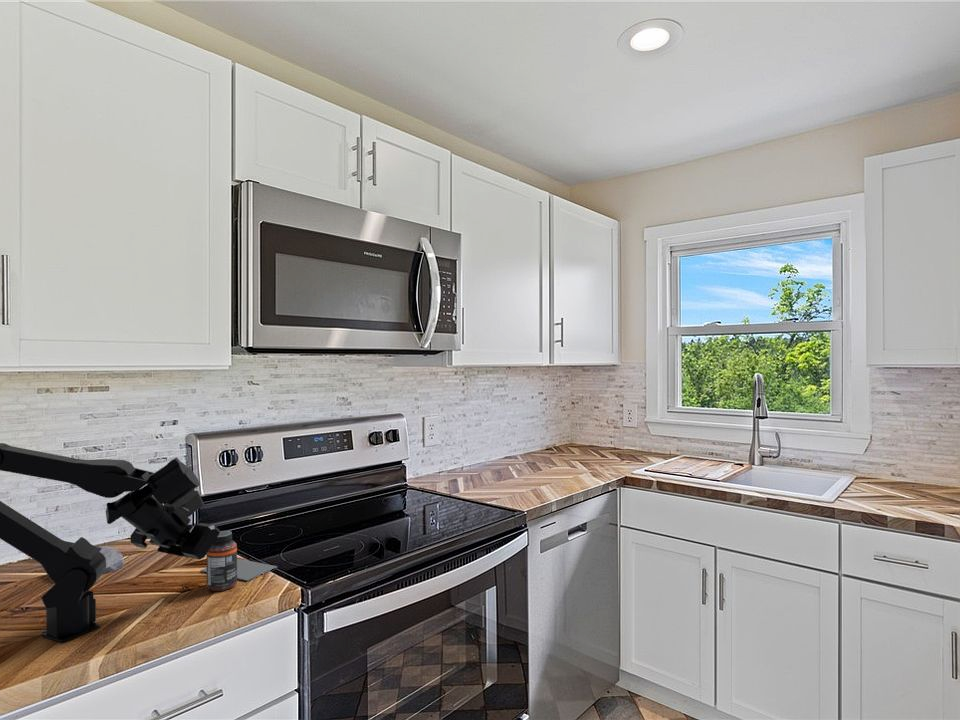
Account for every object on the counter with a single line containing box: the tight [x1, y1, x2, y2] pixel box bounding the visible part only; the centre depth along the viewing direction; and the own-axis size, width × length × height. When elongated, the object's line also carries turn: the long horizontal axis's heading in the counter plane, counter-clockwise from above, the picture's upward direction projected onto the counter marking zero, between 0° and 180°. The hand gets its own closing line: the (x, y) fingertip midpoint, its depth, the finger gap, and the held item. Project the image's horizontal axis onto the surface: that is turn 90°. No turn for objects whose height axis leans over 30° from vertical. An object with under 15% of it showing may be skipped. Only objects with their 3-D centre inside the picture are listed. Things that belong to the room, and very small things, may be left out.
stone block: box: [98, 545, 125, 575], centre depth 134 cm, size 12×5×10 cm
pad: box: [200, 558, 278, 582], centre depth 134 cm, size 9×14×1 cm, turn 66°
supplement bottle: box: [205, 530, 238, 592], centre depth 125 cm, size 6×6×11 cm
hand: (200, 556), depth 120 cm, fingers closed
